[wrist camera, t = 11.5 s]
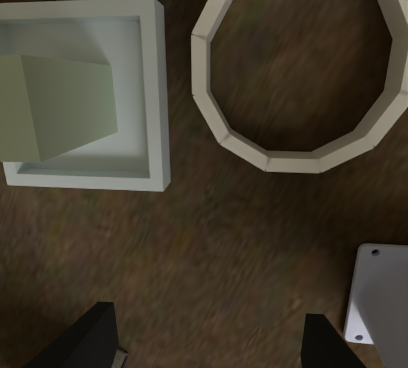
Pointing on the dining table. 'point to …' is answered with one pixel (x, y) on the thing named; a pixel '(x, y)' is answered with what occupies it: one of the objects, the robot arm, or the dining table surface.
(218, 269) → the dining table surface
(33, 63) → the peg
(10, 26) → the tray
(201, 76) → the collar
